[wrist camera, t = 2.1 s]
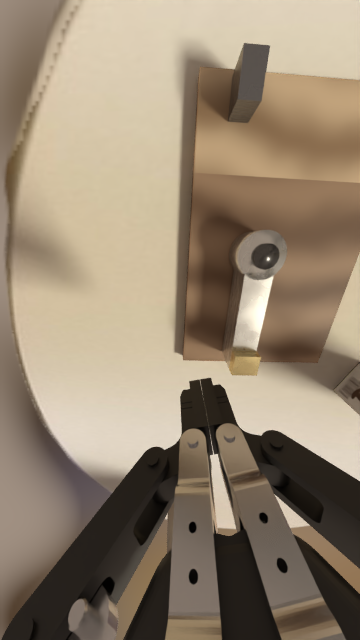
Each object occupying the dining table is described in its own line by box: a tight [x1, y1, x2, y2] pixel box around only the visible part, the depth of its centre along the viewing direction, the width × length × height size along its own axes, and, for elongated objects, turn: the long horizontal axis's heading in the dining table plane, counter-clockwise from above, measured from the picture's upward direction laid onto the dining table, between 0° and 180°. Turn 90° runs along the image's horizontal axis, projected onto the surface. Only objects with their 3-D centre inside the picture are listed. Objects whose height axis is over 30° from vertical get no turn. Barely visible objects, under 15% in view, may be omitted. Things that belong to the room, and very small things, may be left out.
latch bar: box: [222, 230, 287, 375], centre depth 20 cm, size 15×4×5 cm, turn 178°
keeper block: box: [228, 43, 270, 123], centre depth 15 cm, size 3×2×3 cm, turn 178°
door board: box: [183, 67, 360, 363], centre depth 21 cm, size 28×19×1 cm
